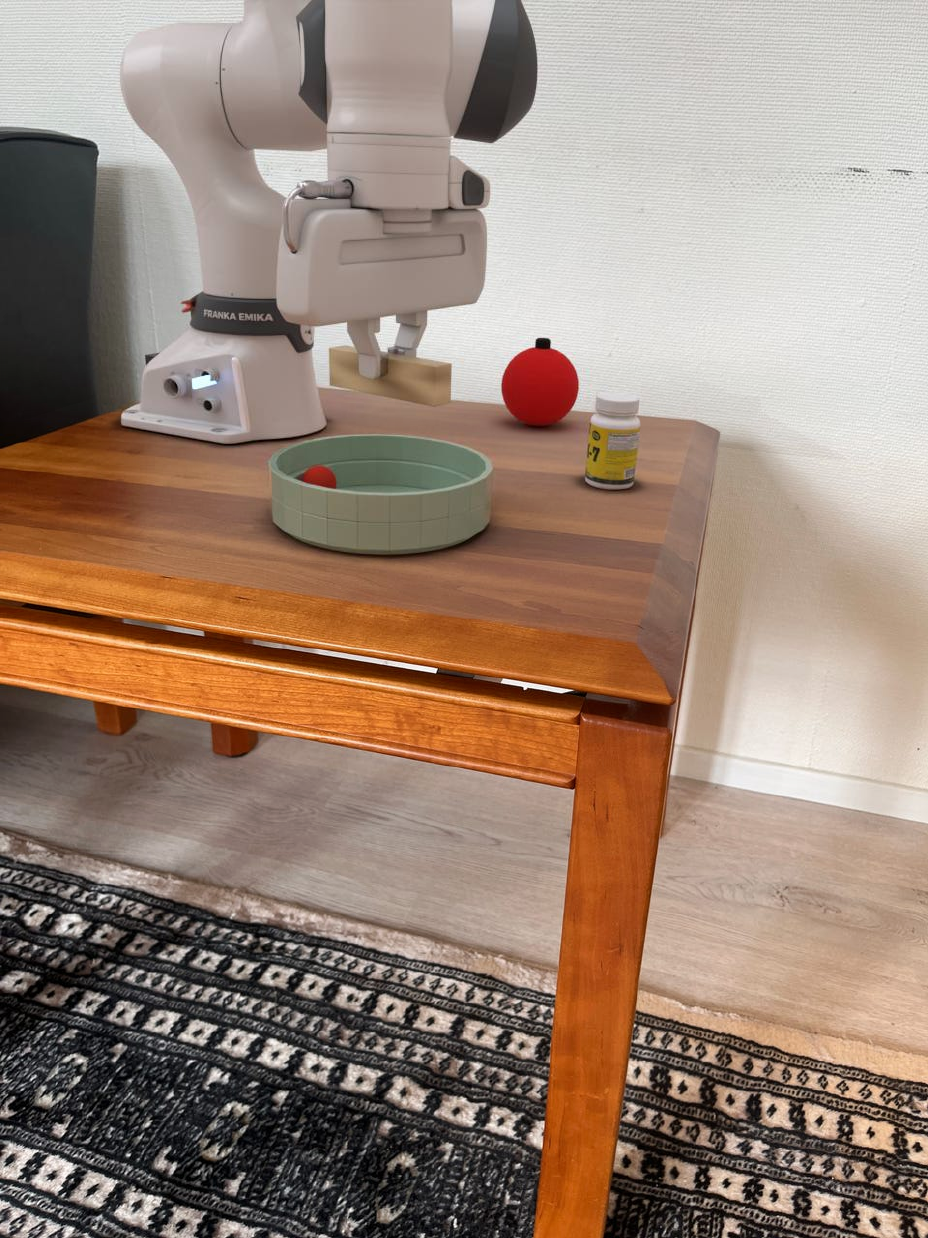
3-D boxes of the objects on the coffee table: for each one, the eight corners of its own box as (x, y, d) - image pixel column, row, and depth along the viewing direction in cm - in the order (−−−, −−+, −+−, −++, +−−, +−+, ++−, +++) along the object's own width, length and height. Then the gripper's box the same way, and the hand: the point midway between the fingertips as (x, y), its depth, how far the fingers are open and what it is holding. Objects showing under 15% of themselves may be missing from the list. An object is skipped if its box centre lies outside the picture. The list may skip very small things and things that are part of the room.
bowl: (232, 540, 77) (229, 478, 75) (321, 478, 93) (320, 426, 91) (458, 570, 73) (460, 506, 71) (509, 500, 89) (513, 446, 87)
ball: (298, 465, 83) (333, 470, 83) (307, 461, 86) (341, 465, 85) (296, 500, 84) (331, 505, 83) (304, 495, 86) (338, 499, 86)
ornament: (583, 434, 113) (592, 345, 109) (506, 434, 112) (511, 343, 107) (565, 416, 121) (572, 332, 117) (493, 415, 120) (497, 330, 115)
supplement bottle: (580, 475, 97) (587, 390, 94) (626, 476, 98) (636, 391, 94) (589, 490, 93) (598, 401, 89) (638, 491, 93) (649, 402, 90)
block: (450, 402, 76) (452, 363, 74) (434, 407, 74) (435, 366, 73) (346, 382, 82) (345, 345, 80) (329, 385, 80) (328, 347, 79)
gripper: (318, 182, 62) (323, 401, 68) (503, 183, 77) (495, 362, 83) (250, 177, 65) (260, 386, 71) (440, 179, 80) (436, 352, 86)
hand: (388, 373), depth 77 cm, fingers closed on block, 2 cm apart
